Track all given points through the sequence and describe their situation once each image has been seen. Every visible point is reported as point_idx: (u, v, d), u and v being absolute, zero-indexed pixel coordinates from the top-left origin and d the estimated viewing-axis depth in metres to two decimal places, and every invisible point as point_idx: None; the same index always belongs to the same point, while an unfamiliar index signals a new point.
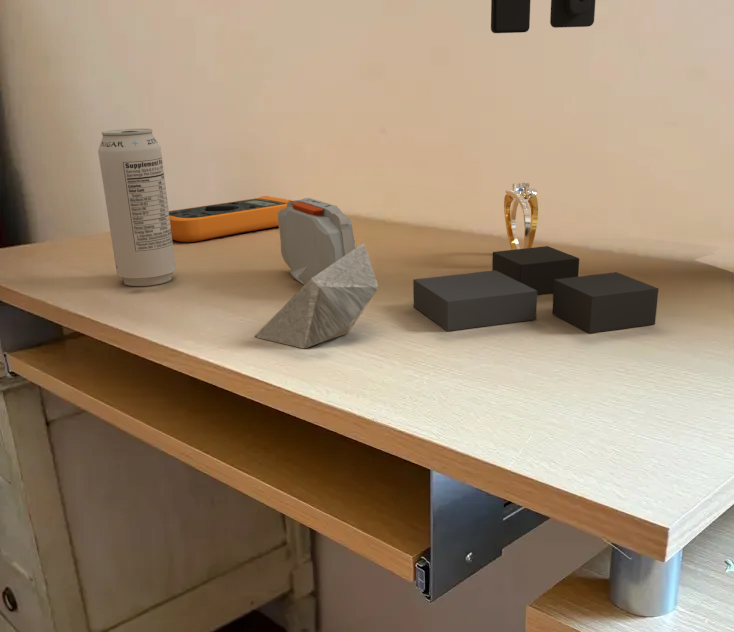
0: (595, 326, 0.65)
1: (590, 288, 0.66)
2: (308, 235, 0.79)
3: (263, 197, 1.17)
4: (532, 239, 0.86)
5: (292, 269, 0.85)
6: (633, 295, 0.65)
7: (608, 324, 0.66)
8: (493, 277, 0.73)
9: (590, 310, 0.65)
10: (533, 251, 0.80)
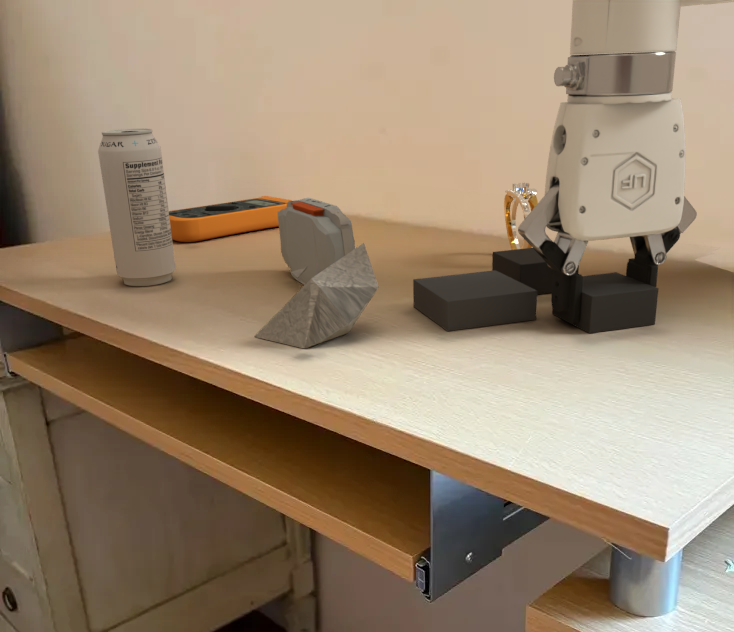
0: (595, 326, 0.65)
1: (590, 289, 0.66)
2: (308, 235, 0.79)
3: (263, 197, 1.17)
4: None
5: (292, 269, 0.85)
6: (633, 295, 0.65)
7: (608, 324, 0.66)
8: (493, 277, 0.73)
9: (590, 310, 0.65)
10: (533, 251, 0.80)
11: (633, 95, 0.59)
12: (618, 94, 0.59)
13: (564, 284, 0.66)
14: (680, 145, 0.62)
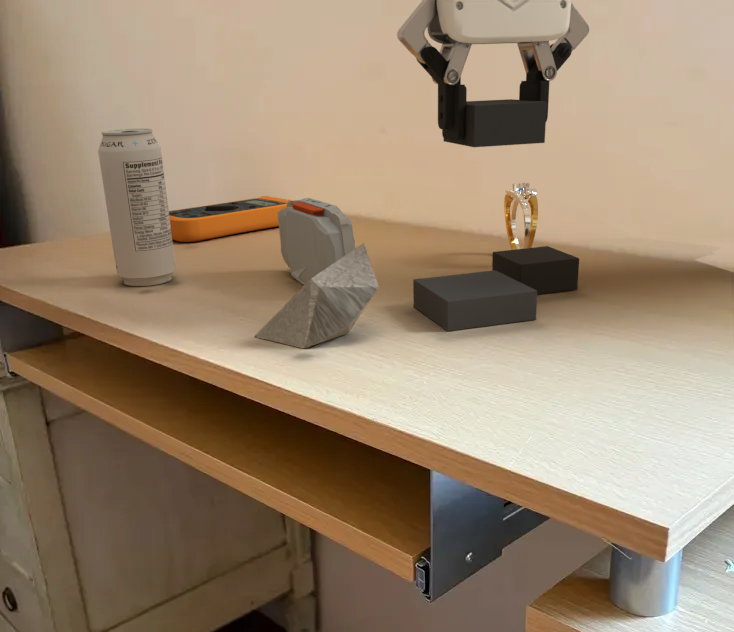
0: (479, 139, 0.62)
1: (476, 103, 0.63)
2: (308, 235, 0.79)
3: (263, 197, 1.17)
4: (532, 239, 0.86)
5: (292, 269, 0.85)
6: (519, 108, 0.62)
7: (493, 138, 0.63)
8: (493, 277, 0.73)
9: (473, 121, 0.62)
10: (533, 251, 0.80)
11: None
12: None
13: (447, 96, 0.63)
14: None
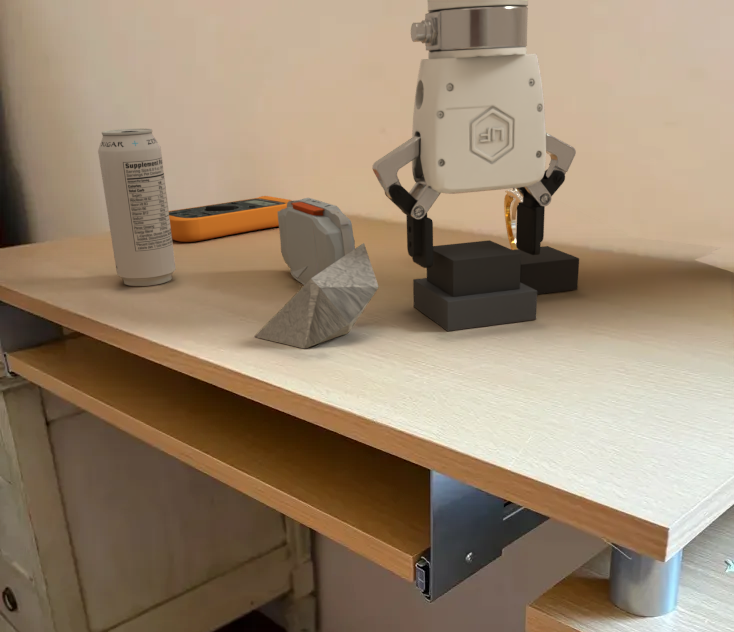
0: (458, 290, 0.67)
1: (455, 254, 0.68)
2: (308, 235, 0.79)
3: (262, 197, 1.17)
4: None
5: (292, 269, 0.85)
6: (495, 260, 0.67)
7: (471, 288, 0.68)
8: None
9: (452, 274, 0.67)
10: None
11: (483, 48, 0.60)
12: (468, 48, 0.60)
13: (415, 228, 0.67)
14: (538, 99, 0.64)
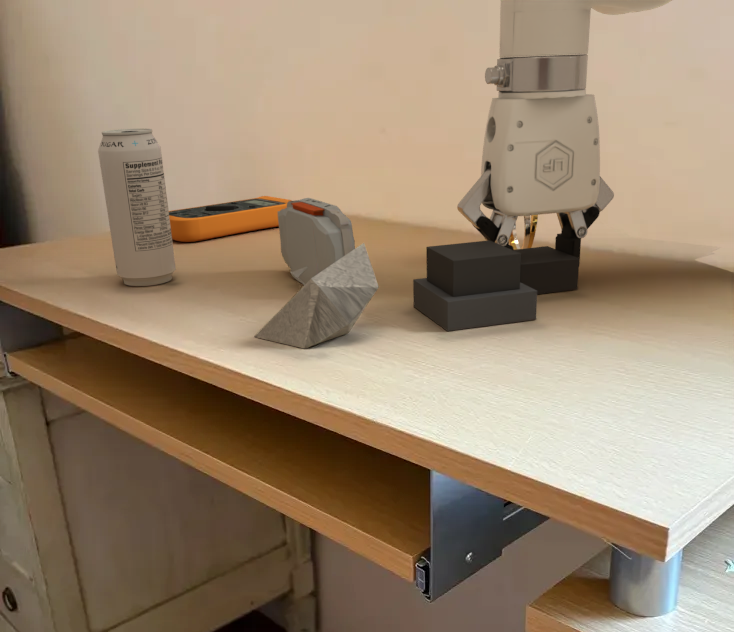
0: (458, 290, 0.67)
1: (455, 254, 0.68)
2: (308, 235, 0.79)
3: (262, 197, 1.17)
4: (532, 239, 0.86)
5: (292, 269, 0.85)
6: (495, 260, 0.67)
7: (471, 288, 0.68)
8: None
9: (452, 274, 0.67)
10: (533, 251, 0.80)
11: (550, 91, 0.69)
12: (537, 90, 0.69)
13: None
14: (594, 134, 0.73)
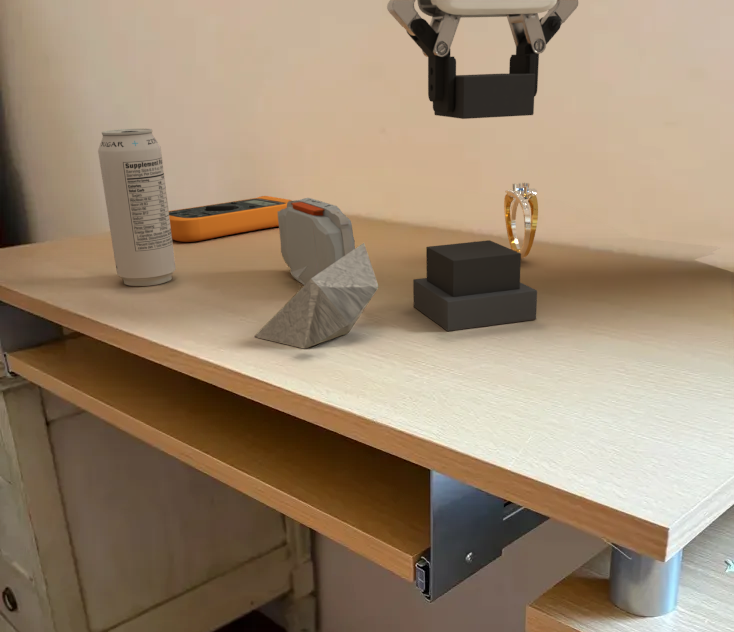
0: (458, 290, 0.67)
1: (455, 254, 0.68)
2: (308, 235, 0.79)
3: (262, 197, 1.17)
4: (532, 239, 0.86)
5: (292, 269, 0.85)
6: (495, 260, 0.67)
7: (471, 288, 0.68)
8: None
9: (452, 274, 0.67)
10: None
11: None
12: None
13: (437, 68, 0.63)
14: None
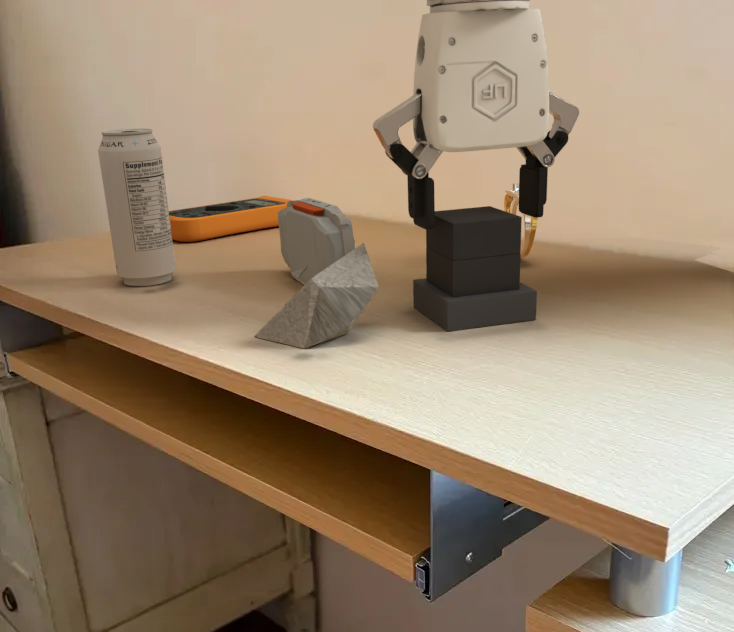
0: (458, 290, 0.67)
1: None
2: (308, 235, 0.79)
3: (262, 197, 1.17)
4: (532, 239, 0.86)
5: (292, 269, 0.85)
6: (495, 260, 0.67)
7: (471, 288, 0.68)
8: None
9: (452, 275, 0.67)
10: (472, 211, 0.70)
11: (485, 1, 0.59)
12: (470, 0, 0.59)
13: (416, 188, 0.65)
14: (541, 55, 0.63)
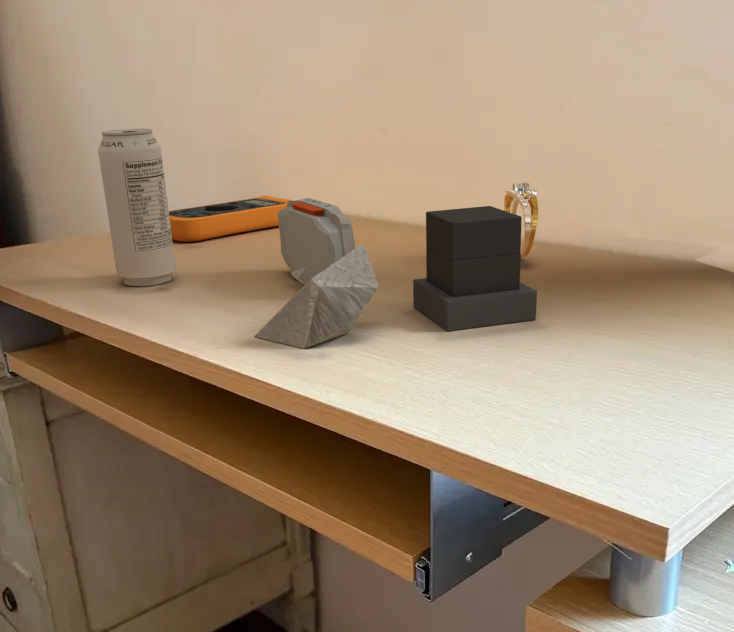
0: (458, 290, 0.67)
1: None
2: (308, 235, 0.79)
3: (262, 197, 1.17)
4: (532, 239, 0.86)
5: (292, 269, 0.85)
6: (495, 260, 0.67)
7: (471, 288, 0.67)
8: None
9: (452, 275, 0.67)
10: (472, 210, 0.70)
11: None
12: None
13: None
14: None
